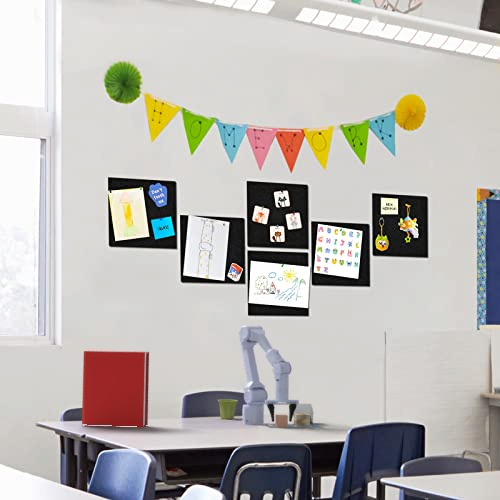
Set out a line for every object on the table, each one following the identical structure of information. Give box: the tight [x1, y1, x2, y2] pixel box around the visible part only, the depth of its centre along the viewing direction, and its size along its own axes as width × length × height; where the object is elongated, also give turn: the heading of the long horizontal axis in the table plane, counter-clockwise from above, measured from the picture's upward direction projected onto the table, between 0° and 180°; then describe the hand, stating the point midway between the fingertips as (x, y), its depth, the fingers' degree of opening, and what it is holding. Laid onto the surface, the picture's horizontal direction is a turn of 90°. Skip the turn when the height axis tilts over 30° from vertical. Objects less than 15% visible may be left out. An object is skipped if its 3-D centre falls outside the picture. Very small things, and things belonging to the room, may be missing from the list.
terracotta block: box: [274, 414, 289, 427], centre depth 438 cm, size 4×4×5 cm
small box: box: [293, 403, 315, 424], centre depth 454 cm, size 8×6×10 cm
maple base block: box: [293, 414, 311, 426], centre depth 444 cm, size 6×6×5 cm
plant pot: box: [217, 399, 239, 420], centre depth 476 cm, size 9×9×9 cm
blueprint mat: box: [264, 423, 325, 429], centre depth 442 cm, size 24×16×1 cm, turn 99°
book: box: [81, 350, 150, 428], centre depth 436 cm, size 27×8×32 cm, turn 83°
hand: (281, 421), depth 438 cm, fingers open, 7 cm apart
